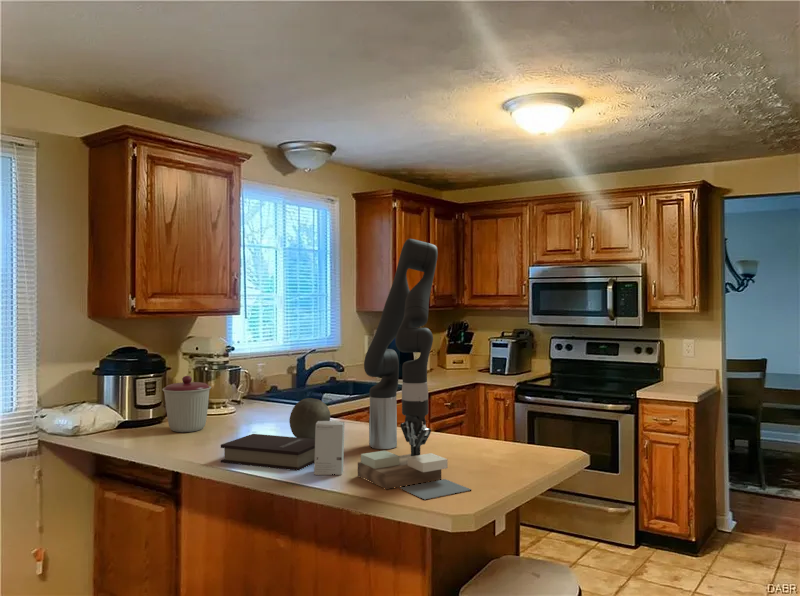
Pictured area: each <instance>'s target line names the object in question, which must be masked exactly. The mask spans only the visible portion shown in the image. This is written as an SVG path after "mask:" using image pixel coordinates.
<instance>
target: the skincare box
mask: <svg viewBox="0 0 800 596" xmlns="http://www.w3.org/2000/svg"><path fill="white" fill-rule="evenodd" d="M344 448H345V421H340V420H339V421H337V420H335V421H334V420H330V421H317V423H316V428H315V460H314V463H313V466H314V467H313V473H314V476H341V475H343V472H344V453H345V449H344ZM332 474H333V475H332ZM334 474H335V475H334Z"/></svg>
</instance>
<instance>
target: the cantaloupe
mask: <svg viewBox="0 0 800 596" xmlns="http://www.w3.org/2000/svg"><path fill="white" fill-rule="evenodd" d="M317 421H331V412H330V409H329V407H328V405H327V404H326V403H325V402H323V401H322V400H320V399H319V398H312V397H310V398H309V397H308V398H303V399H300V400H299V401H298V402H297V403H295V405H294V407H292V410H291V412H290V414H289V427H290V430H291V433H292V435H293V436H294V437H297V438H309V439H315V428H316V423H317Z"/></svg>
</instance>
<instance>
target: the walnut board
mask: <svg viewBox="0 0 800 596" xmlns="http://www.w3.org/2000/svg"><path fill="white" fill-rule="evenodd" d="M398 456H399V465H395V466H389V467H383V468H377V469H374V468H372V467H369V466H367V465H365V464H362V463H361V461H358V462H357V477H358V476H360V477H362V478H365V479H367V480H369V481H371V482H373V483H375V484H377V485H379V486H381V487H383V488H385V489H389V488H394V487H399V488H400V486H406V485H410V486H411V485H412V484H415V485H416V484H418V483H423V482H426V483H427V482H428V481H431V482H432V481H434V480H436V481H437V480H440V479H441V480H442V469H440V470H434V471H428V472H421V471H419V470H416V469H414V468H412V467H409V466H408V457H410V456H411V453H408V454H403V455H402V454H401V455H398ZM360 477H359V478H360ZM362 478H361V479H362ZM365 479H364V480H365ZM367 480H366V481H367ZM369 481H368V482H369ZM371 482H370V483H371ZM373 483H372V484H373ZM375 484H374V485H375ZM377 485H376V486H377ZM379 486H378V487H379ZM381 487H380V488H381ZM383 488H382V489H383ZM385 489H384V490H385ZM394 489H395V488H394ZM389 490H390V489H389Z"/></svg>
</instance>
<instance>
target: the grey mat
mask: <svg viewBox="0 0 800 596" xmlns="http://www.w3.org/2000/svg"><path fill="white" fill-rule="evenodd" d="M399 488H401V489H403V490H405V491H407V492H406V493H408V492H409V493H408V494H410V493H411V494H410V495H412V494H413V495H412V496H414V495H415V496H414V497H416V496H417V497H416V498H418V497H419V499H421V498H422V499H421V500H423V499H424V500H423V501H427V500H426V499H429V500H432V499H431V498H434V499H437V498H436V497H438V498H441V497H440V496H443V497H446V495H448V496H452V495H451V494H453V495H456V494H455V493H458V494H461V493H460V492H463V493H467V492H466V491H468V492H471V491H470V490H472V489H471V488H468V487H466V486H463V485H460V484H459V483H456V482H453V481H451V480H449V479H446V478H444V479H443V478H442V479H441V480H436V481H431V482H426V483H421V484H415V485H410V486H405V487H399ZM401 489H400V490H401ZM403 490H402V491H403ZM405 491H404V492H405Z"/></svg>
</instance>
